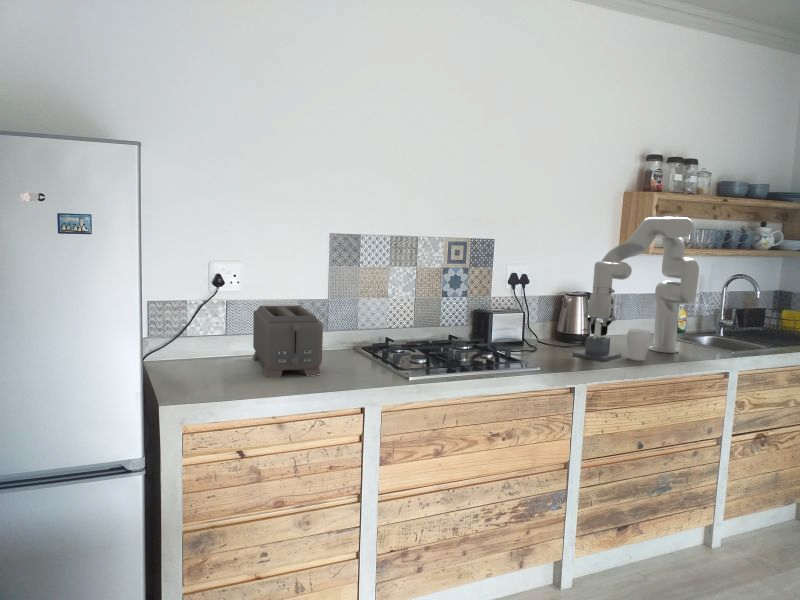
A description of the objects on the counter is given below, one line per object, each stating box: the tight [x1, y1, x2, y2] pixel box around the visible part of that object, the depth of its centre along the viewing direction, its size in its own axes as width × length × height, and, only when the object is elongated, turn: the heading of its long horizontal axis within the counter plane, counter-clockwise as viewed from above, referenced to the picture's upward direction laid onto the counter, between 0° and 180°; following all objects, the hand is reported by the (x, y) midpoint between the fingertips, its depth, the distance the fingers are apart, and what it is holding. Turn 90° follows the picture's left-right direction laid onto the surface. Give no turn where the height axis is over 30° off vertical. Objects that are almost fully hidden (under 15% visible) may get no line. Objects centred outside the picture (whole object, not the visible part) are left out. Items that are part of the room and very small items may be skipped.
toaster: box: [252, 305, 324, 379], centre depth 231 cm, size 19×35×20 cm, turn 20°
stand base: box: [572, 335, 622, 363], centre depth 275 cm, size 16×14×9 cm
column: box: [593, 320, 604, 339], centre depth 274 cm, size 4×4×13 cm
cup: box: [626, 328, 651, 361], centre depth 273 cm, size 9×9×12 cm
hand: (598, 334), depth 274 cm, fingers closed on column, 4 cm apart
